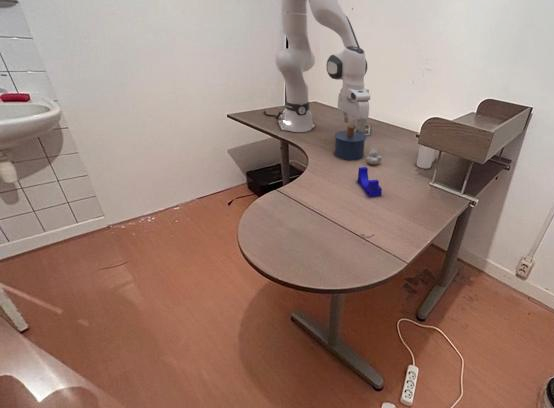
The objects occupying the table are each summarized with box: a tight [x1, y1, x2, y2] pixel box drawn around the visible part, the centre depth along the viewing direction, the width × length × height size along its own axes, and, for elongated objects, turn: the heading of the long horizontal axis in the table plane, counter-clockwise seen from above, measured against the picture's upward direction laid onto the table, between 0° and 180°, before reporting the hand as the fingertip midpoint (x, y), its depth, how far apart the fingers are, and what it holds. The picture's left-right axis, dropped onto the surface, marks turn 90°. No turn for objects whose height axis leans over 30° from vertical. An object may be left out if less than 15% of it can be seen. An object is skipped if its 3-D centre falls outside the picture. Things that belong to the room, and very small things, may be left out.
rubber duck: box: [366, 146, 383, 166], centre depth 127 cm, size 5×7×8 cm
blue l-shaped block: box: [357, 166, 383, 198], centre depth 108 cm, size 12×4×6 cm, turn 21°
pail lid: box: [333, 125, 367, 142], centre depth 130 cm, size 14×14×5 cm
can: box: [416, 144, 435, 170], centre depth 128 cm, size 6×6×12 cm
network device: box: [354, 88, 371, 137], centre depth 163 cm, size 26×9×20 cm, turn 178°
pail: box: [334, 137, 366, 161], centre depth 133 cm, size 13×13×8 cm
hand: (351, 125), depth 128 cm, fingers open, 8 cm apart
